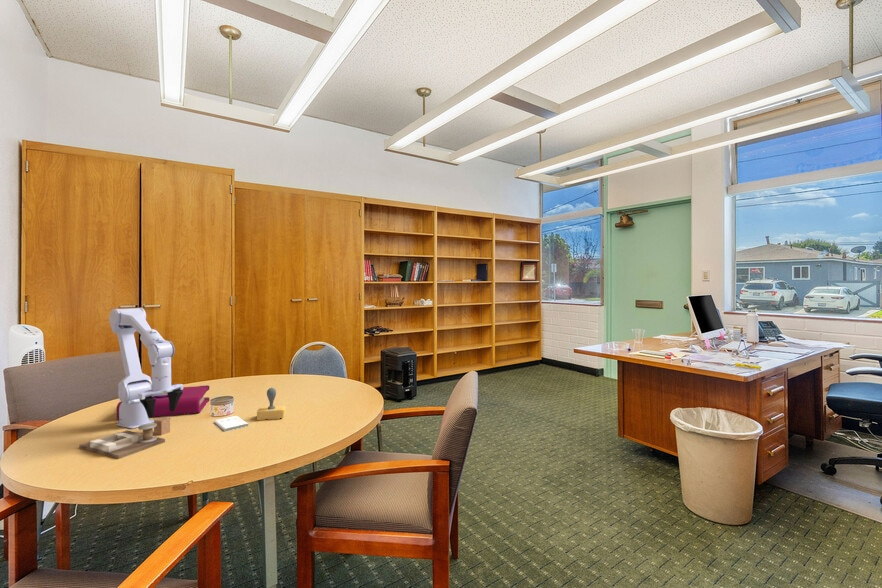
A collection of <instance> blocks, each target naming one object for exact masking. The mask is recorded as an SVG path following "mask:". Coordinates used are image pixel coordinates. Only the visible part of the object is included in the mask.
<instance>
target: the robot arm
mask: <svg viewBox="0 0 882 588" xmlns="http://www.w3.org/2000/svg"><path fill="white" fill-rule="evenodd" d="M108 320H109V325H110V329H111V331H112V333H114V334H116V336H117V341H118V345H119V350H120V355H121V356H120V357H121V360H122V363H123V370H124V374H125V377H123V378H122V379H121V381H119V383H117V386H118V387H117V390H118V391H117V396H118V400H119V402H121V401H122V403H121V405H120V407H119V420H118V423H116V426H119V427H123V428H128V429H136V428H138V427H139V426H140V425H143V424H147V423H154V419H155V417H154V407H155V402H156V399H153V398H152V397H153V396H157V395H161V394H164V393H167V394H168V398H169V409H170V411H173V412H174V411H175V410H176V407H177V403H178V401H179V399H180V397H181V395H182V394H183V391H180V390H182V389H183V387H184V384H182V383H176V384H172V358H173V357H174V356H175V351H176V350H175V345H174V343H173V342H172V341H171V340H165V338H163V336H162V335H161V334H160V333H159V332H158V330H156V329H153V328H151V326H150V325H149V323H148V321H147V312H146V311H145V309H144V308H143V307H136V308H135V307H133V308H131V307H130V308H113V309H112V310H111V311H110V313H109V318H108ZM136 332H137V333H138V334H139V335H140V337H139V339H140V341H141V343H142V344H143V345H144V346H145V348H146V349H147V356H148V359H149V364H150V365H151V376H149V375H147V374H145V373H143V371H142V367H141V363H140V357H139V352H138V348H137V344H136V339H135V333H136Z"/></svg>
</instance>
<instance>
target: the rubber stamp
mask: <svg viewBox="0 0 882 588" xmlns="http://www.w3.org/2000/svg"><path fill="white" fill-rule="evenodd" d="M276 394H277V391H276V389H275V388H274V387H270V388H268V389H267V390H266V397H267V399H268V403H269V406H260V407H259V408H258V409H257V410H256V421H266V420H265V419H272V420H281V419H280V418H284V419H285V417H286V415H285V414H286V413H287V412H286V410H287V409H286V405H278V406H277V405H274V401H275V398H276V396H277V395H276ZM284 416H285V417H284Z"/></svg>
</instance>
